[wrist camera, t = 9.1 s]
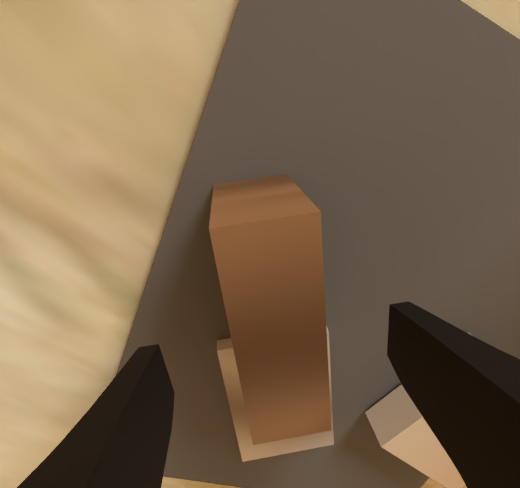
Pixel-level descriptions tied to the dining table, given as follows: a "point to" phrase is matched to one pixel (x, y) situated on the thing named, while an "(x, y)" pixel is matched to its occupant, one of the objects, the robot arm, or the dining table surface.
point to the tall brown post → (273, 316)
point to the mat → (346, 211)
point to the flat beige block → (412, 438)
